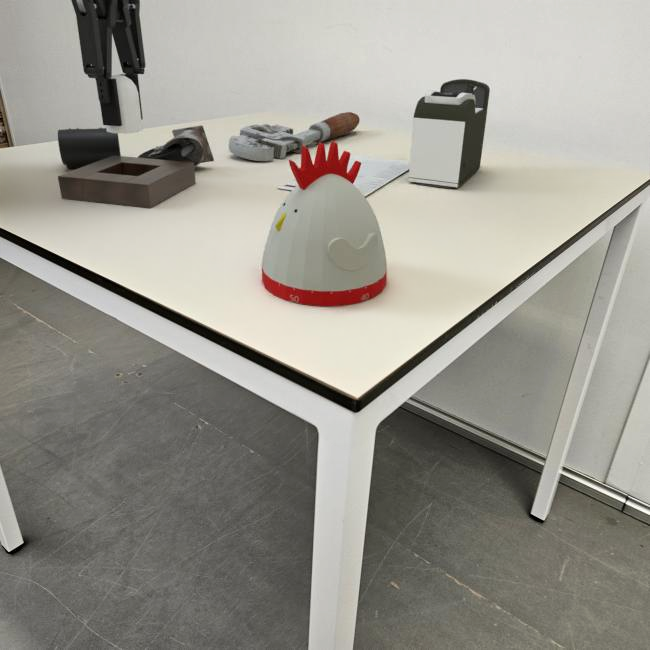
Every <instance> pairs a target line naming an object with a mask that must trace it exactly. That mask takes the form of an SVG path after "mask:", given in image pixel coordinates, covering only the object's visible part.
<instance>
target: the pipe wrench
mask: <svg viewBox="0 0 650 650" xmlns="http://www.w3.org/2000/svg"><path fill="white" fill-rule="evenodd" d="M360 121H361V120H360V116H359V115H358V114H357V113H354V112H352V111H346V112H340V113H338V114H335V115H333V116H330V117H328V118H326V119H324V120H322V121H318V122H315V123H313V124H311V125H310V126H309V127H308V129H307V130H304V131H302V132H299V133H296V134H294V128H292V127H287V126H284V125H281V124H275V125H274V124H273V125H271V124H268V123H263V124H251V125H247V126H243V127H242V128H240V131H239V135H237V136H236V135H232V136H230V137H229V139H228V150H229V152H230V153H232V154H233V155H234V156H236V157H238V158H239V157H240V158H242V159H245V160H250V161H256V162H272V161H274V158H277V159H280V160H282V159H285V158H286V156H287V153H289V152H293V153H297V154H300V155H301V150H302V146H305V147H307V145H308V144H310V143H314V144H319V142H320V143H322V142H324V141H328V140H332V139H335V138H339V137H341V136H344V135H347V134H349V133H352V132H353V131H354V130H356V128H357V127H358V126H359V124H360Z"/></svg>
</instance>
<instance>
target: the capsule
mask: <svg viewBox="0 0 650 650" xmlns="http://www.w3.org/2000/svg"><path fill="white" fill-rule="evenodd" d="M111 79H116V83H117V91H118V98H119V106H120V114H121V121H122V126H109V125H105V128H106V129H107V132H110V133H118V135H119V134H122V135H123V134H134V133H140V132H142V131H143V121H142V120H143V119H142V120H141V112H140V103H139V95H138V91H137V87H136V85H135V84H134V83H133V81H132V80H131V79H129V78H127V77H126V76H123V75H120V74H114V75H113V74H112V77H111Z"/></svg>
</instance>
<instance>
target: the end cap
mask: <svg viewBox="0 0 650 650" xmlns="http://www.w3.org/2000/svg"><path fill="white" fill-rule="evenodd" d="M57 142H58V143H57V144H58V150H59V155H60V159H61V162H62V164H63V165H64V166H66V168H67V169H71V168H72V169H73V168H74V169H75V168H76V169H77V168H81V167H84V166H86V165H89V164H92V163H94V162H97V161H100V160H103V159H105V158H108V157H111V156H113V155H114V156H122V154H121V148H120V147H121V146H120V139H119V133H110V132H107V129H106V127H104V128H103V127H99V128H78V127H77V128H70V127H69V128H66V129H58V130H57Z"/></svg>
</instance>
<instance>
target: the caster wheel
mask: <svg viewBox="0 0 650 650" xmlns="http://www.w3.org/2000/svg"><path fill="white" fill-rule="evenodd" d="M171 132H172V135H173V138H172V139H170V140H168V141H167V142H166V143H165V144H163V145H159V146H156V147H154V148H151V149H149V150H146V151H144V152H142V153H141V154H139V155H138V156H137V158H148V159H159V160H170V161H182V162H193V163H194V169H196V168H197V167H198V166H199V165H200V164H203V163H210V162H215V158H214V156H213V152H212V149H211V147H210V143H209V140H208V137H207V135H206V131H205V128H204V126H203V125H201V124H200V125H194V126H188V127H182V128H176V129H172V131H171Z"/></svg>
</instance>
